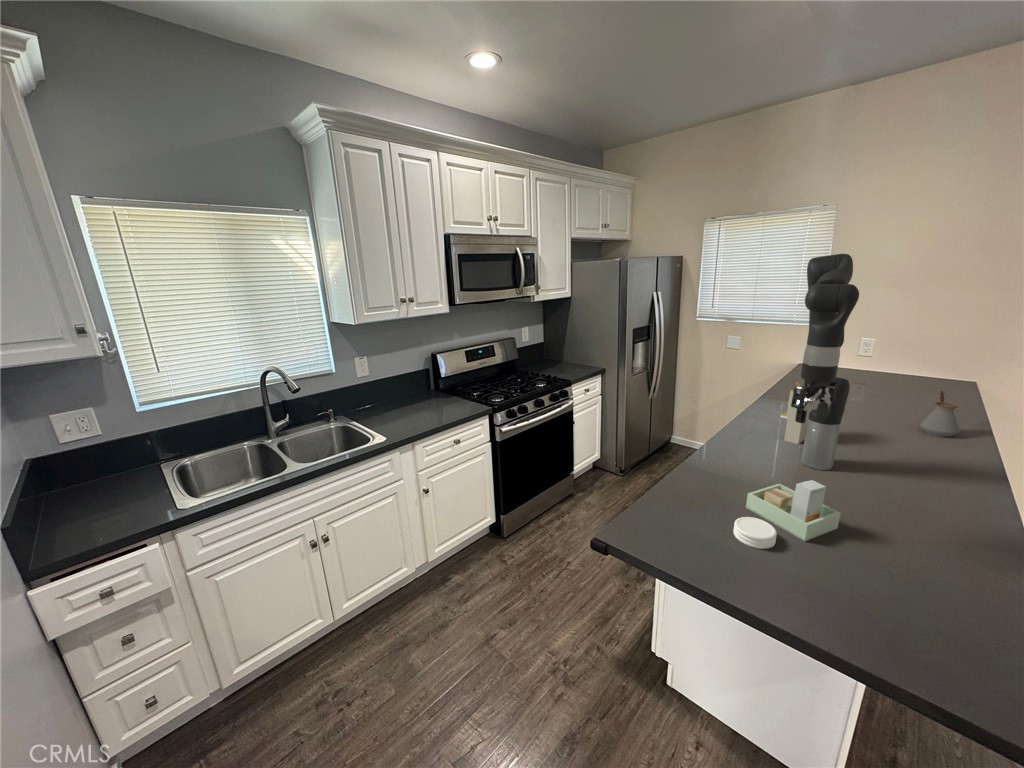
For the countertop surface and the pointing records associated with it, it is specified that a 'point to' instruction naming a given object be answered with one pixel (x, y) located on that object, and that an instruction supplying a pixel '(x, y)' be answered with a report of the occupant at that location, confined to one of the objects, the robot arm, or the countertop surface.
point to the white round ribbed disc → (755, 532)
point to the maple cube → (779, 499)
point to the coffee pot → (941, 420)
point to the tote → (789, 522)
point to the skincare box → (808, 501)
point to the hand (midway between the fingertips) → (810, 419)
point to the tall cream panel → (793, 428)
